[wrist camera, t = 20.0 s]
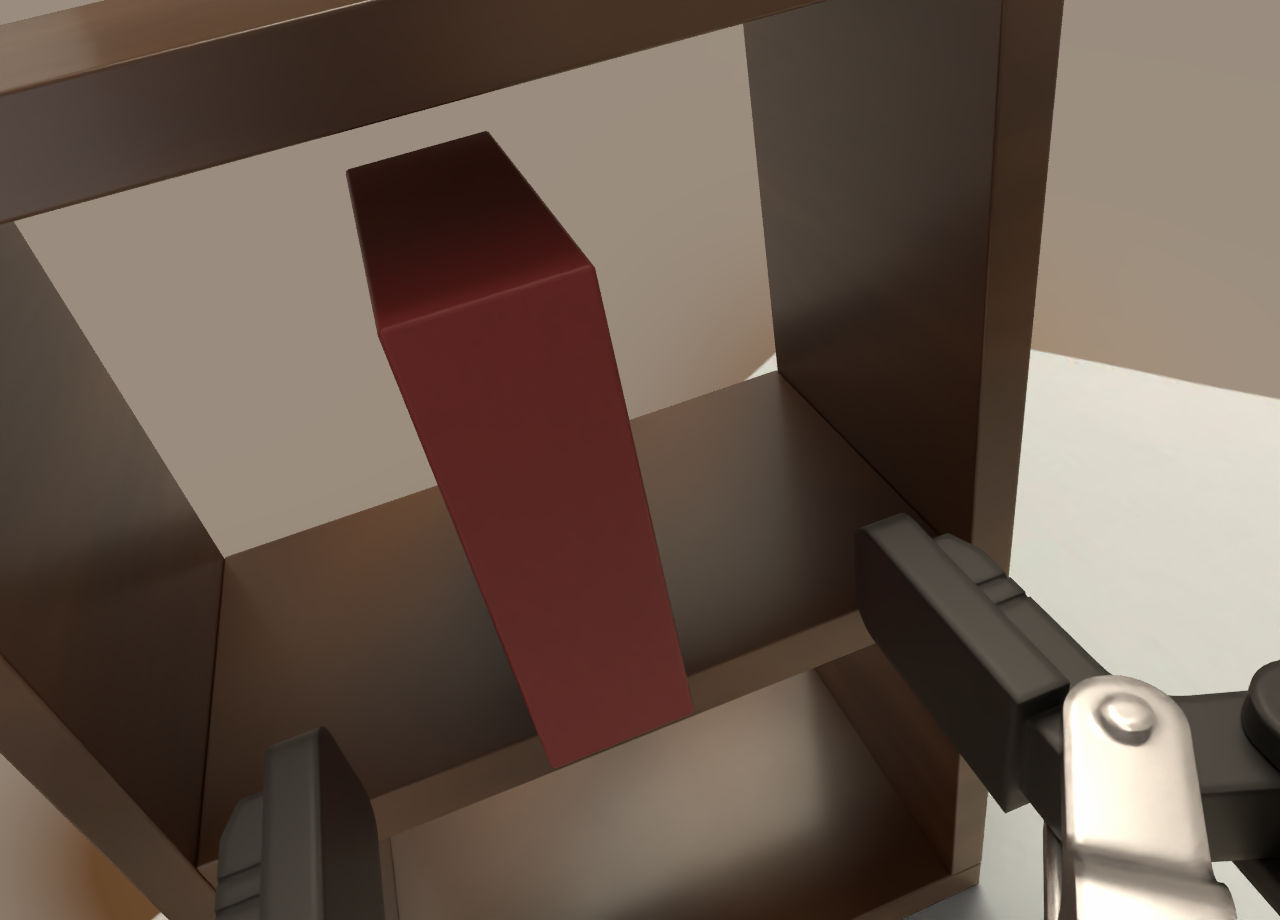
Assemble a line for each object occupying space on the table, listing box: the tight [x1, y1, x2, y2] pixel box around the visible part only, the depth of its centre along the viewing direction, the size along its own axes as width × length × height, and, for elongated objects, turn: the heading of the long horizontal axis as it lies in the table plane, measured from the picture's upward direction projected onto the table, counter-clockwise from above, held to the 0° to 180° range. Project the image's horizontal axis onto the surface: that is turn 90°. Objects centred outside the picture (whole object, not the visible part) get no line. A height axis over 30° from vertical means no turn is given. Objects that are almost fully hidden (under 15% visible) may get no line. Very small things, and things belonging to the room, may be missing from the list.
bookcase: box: [0, 0, 1064, 920], centre depth 25 cm, size 21×11×32 cm, turn 109°
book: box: [346, 131, 694, 768], centre depth 20 cm, size 3×9×11 cm, turn 19°
